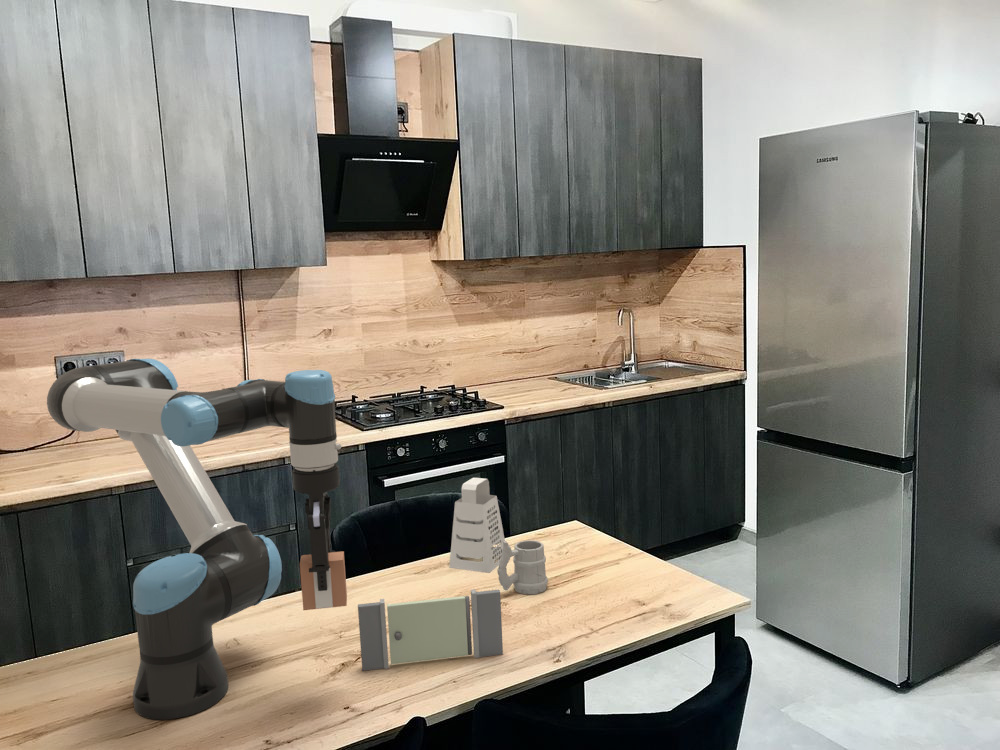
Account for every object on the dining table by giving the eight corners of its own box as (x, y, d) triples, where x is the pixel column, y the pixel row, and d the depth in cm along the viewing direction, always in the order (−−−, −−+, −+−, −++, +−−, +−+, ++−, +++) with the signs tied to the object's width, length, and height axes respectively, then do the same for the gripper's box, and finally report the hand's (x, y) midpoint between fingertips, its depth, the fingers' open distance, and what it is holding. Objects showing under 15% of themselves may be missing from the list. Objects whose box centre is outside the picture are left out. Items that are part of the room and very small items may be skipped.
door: (391, 667, 148) (387, 608, 146) (390, 661, 150) (386, 604, 148) (473, 657, 150) (470, 600, 148) (471, 652, 152) (468, 595, 150)
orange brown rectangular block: (303, 610, 136) (299, 564, 135) (305, 600, 140) (301, 555, 139) (346, 605, 137) (343, 559, 136) (347, 596, 141) (343, 551, 140)
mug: (555, 589, 180) (553, 536, 178) (508, 603, 174) (506, 548, 172) (535, 578, 186) (533, 527, 185) (490, 591, 180) (488, 538, 179)
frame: (362, 671, 148) (357, 605, 146) (362, 666, 149) (357, 601, 148) (503, 655, 151) (500, 590, 150) (501, 650, 153) (498, 586, 151)
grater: (507, 557, 200) (504, 477, 197) (489, 573, 191) (485, 489, 188) (468, 552, 205) (465, 473, 202) (449, 567, 195) (445, 485, 192)
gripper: (337, 477, 127) (346, 620, 131) (340, 451, 144) (348, 579, 147) (286, 481, 126) (298, 625, 130) (295, 454, 143) (305, 583, 146)
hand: (325, 600), depth 139 cm, fingers closed on orange brown rectangular block, 4 cm apart
